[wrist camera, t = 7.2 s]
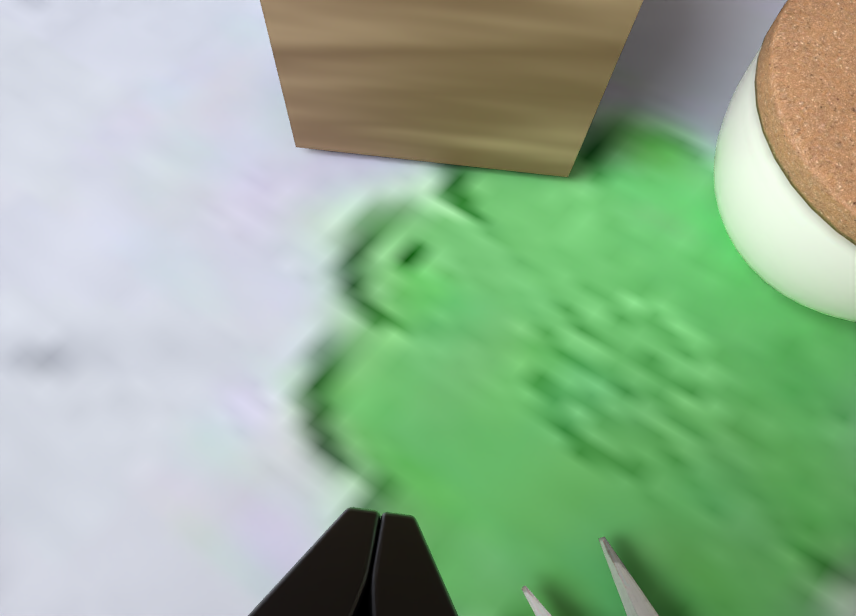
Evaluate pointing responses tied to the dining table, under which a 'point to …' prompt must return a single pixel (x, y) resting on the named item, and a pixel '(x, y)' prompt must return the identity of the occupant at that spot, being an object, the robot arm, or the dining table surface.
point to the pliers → (630, 593)
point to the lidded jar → (796, 158)
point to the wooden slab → (448, 76)
